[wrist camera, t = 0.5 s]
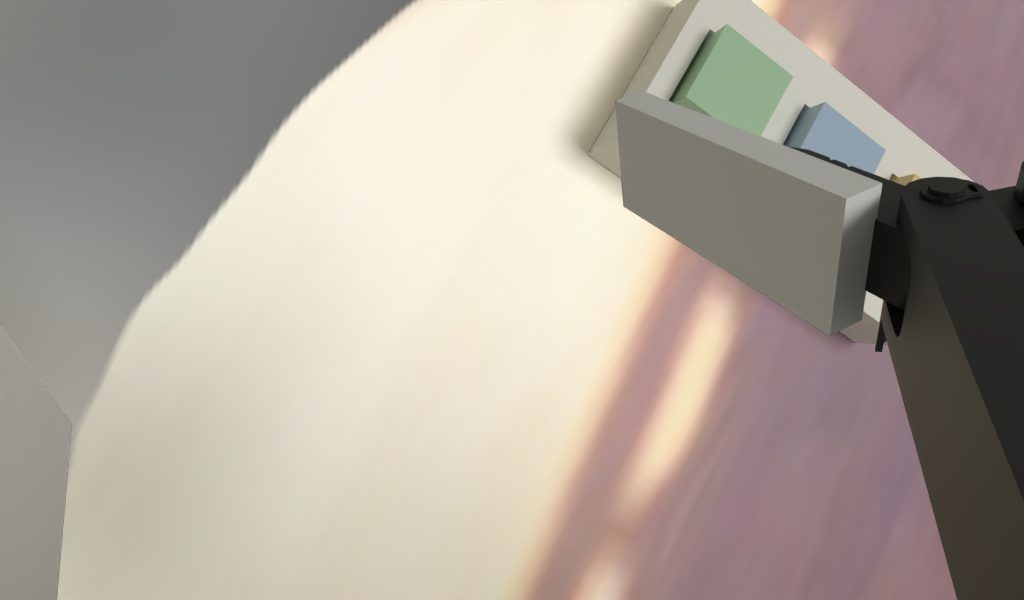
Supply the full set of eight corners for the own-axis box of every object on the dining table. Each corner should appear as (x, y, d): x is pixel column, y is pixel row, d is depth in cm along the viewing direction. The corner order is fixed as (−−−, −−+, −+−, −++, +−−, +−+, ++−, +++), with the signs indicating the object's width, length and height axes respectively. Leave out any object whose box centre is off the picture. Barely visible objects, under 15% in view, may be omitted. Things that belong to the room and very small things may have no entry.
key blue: (845, 161, 54) (886, 150, 50) (811, 226, 53) (850, 220, 50) (788, 116, 53) (825, 101, 49) (752, 182, 52) (786, 172, 48)
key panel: (924, 203, 61) (987, 192, 55) (855, 342, 59) (912, 346, 53) (674, 7, 55) (715, -29, 49) (587, 154, 53) (620, 136, 47)
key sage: (758, 93, 52) (793, 76, 48) (721, 159, 52) (754, 148, 48) (696, 45, 51) (727, 23, 47) (657, 112, 50) (685, 96, 46)
